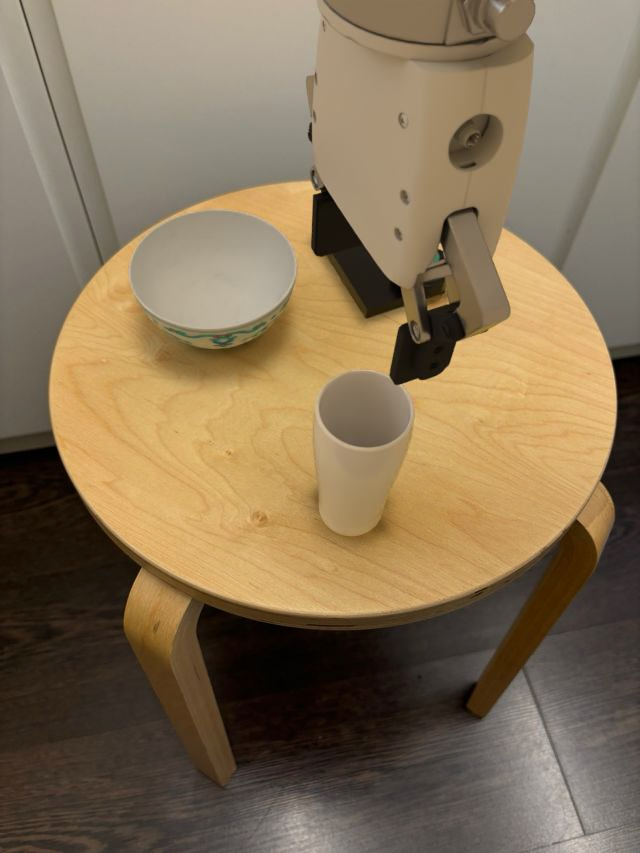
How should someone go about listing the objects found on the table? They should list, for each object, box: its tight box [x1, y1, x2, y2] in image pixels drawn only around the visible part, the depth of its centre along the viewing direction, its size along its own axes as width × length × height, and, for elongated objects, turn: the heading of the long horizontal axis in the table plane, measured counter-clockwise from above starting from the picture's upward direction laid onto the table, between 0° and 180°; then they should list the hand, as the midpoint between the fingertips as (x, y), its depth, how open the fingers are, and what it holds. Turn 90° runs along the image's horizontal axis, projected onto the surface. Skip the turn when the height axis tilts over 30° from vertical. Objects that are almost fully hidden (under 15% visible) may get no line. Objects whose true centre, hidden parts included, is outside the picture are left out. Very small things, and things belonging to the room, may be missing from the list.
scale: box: [326, 245, 446, 319], centre depth 73 cm, size 10×13×3 cm
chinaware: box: [127, 208, 298, 350], centre depth 66 cm, size 15×15×8 cm
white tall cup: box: [312, 368, 416, 537], centre depth 52 cm, size 7×7×15 cm
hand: (375, 306), depth 38 cm, fingers open, 9 cm apart
